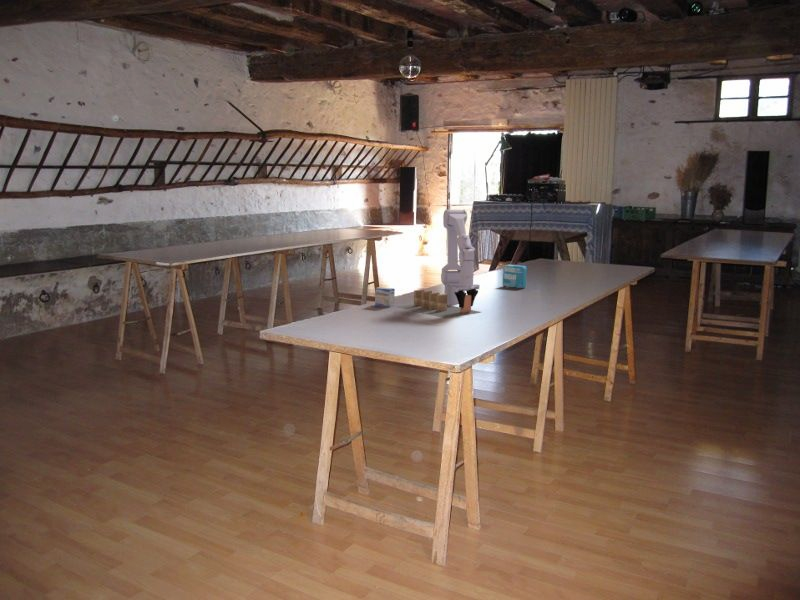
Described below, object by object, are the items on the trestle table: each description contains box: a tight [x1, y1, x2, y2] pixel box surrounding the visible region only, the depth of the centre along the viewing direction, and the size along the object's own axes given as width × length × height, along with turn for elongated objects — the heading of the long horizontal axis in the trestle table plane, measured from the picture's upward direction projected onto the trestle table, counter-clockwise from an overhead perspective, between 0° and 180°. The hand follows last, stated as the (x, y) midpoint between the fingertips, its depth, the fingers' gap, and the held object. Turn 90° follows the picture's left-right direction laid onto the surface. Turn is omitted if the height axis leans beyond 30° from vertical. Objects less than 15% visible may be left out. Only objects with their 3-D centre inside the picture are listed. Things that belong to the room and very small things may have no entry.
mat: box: [397, 303, 482, 319], centre depth 305 cm, size 22×32×1 cm
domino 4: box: [436, 293, 448, 312], centre depth 301 cm, size 2×5×7 cm, turn 130°
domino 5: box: [461, 294, 472, 313], centre depth 300 cm, size 2×5×7 cm, turn 130°
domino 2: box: [421, 290, 433, 308], centre depth 309 cm, size 2×5×7 cm, turn 130°
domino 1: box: [413, 289, 426, 306], centre depth 313 cm, size 2×5×7 cm, turn 130°
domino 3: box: [429, 291, 440, 310], centre depth 305 cm, size 2×5×7 cm, turn 130°
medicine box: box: [374, 286, 396, 308], centre depth 311 cm, size 8×4×9 cm, turn 62°
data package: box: [502, 264, 528, 289], centre depth 371 cm, size 12×4×12 cm, turn 58°
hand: (465, 306), depth 300 cm, fingers closed on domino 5, 5 cm apart
